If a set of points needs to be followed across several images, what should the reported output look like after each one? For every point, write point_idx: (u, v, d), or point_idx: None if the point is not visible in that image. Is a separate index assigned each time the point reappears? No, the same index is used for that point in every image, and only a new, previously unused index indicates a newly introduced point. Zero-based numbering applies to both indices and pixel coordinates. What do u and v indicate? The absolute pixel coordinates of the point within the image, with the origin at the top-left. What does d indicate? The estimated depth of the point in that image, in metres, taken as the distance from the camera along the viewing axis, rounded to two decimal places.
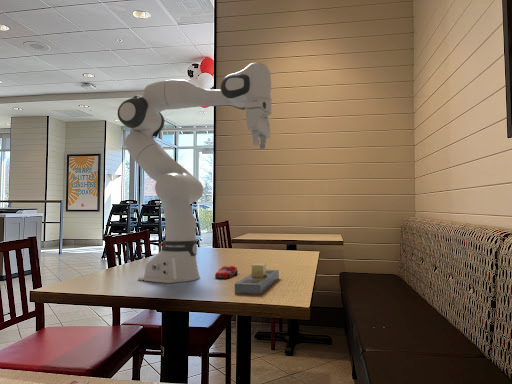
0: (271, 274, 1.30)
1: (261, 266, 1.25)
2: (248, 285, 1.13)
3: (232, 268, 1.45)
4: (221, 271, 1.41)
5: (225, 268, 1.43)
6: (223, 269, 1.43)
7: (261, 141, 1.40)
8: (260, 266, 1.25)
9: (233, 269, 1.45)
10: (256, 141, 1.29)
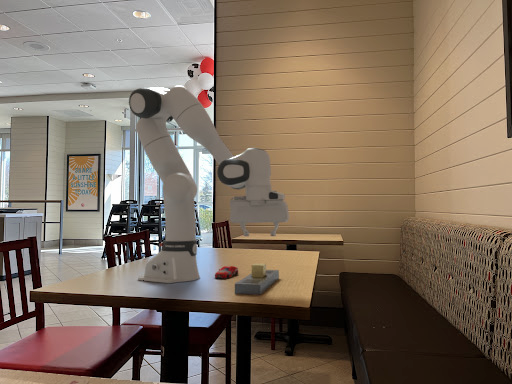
0: (271, 274, 1.30)
1: (261, 266, 1.25)
2: (248, 285, 1.13)
3: (232, 268, 1.45)
4: (221, 271, 1.41)
5: (225, 268, 1.43)
6: (223, 269, 1.43)
7: (243, 227, 1.29)
8: (260, 266, 1.25)
9: (233, 269, 1.45)
10: (275, 232, 1.26)
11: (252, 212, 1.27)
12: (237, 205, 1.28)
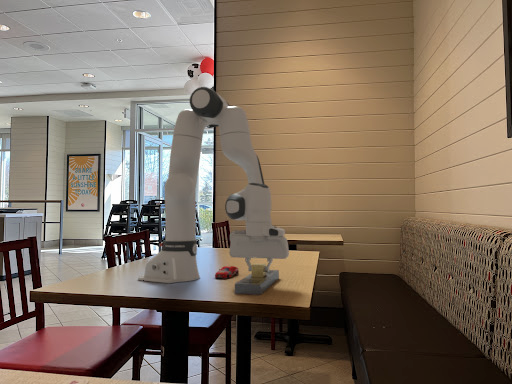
0: (271, 274, 1.30)
1: (261, 266, 1.25)
2: (248, 285, 1.13)
3: (232, 268, 1.45)
4: (221, 271, 1.41)
5: (225, 268, 1.43)
6: (223, 269, 1.43)
7: (248, 261, 1.27)
8: (260, 266, 1.25)
9: (234, 269, 1.45)
10: (268, 268, 1.26)
11: (251, 247, 1.26)
12: (237, 240, 1.27)
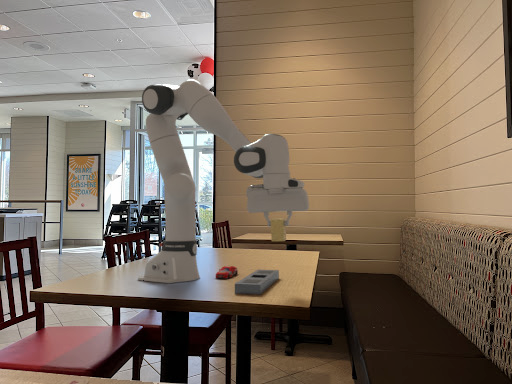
0: (271, 274, 1.30)
1: (281, 220, 1.19)
2: (248, 285, 1.13)
3: (232, 268, 1.45)
4: (221, 271, 1.41)
5: (225, 268, 1.43)
6: (223, 269, 1.42)
7: (267, 216, 1.22)
8: (280, 220, 1.20)
9: (233, 269, 1.45)
10: (288, 222, 1.21)
11: (270, 201, 1.21)
12: (254, 194, 1.22)
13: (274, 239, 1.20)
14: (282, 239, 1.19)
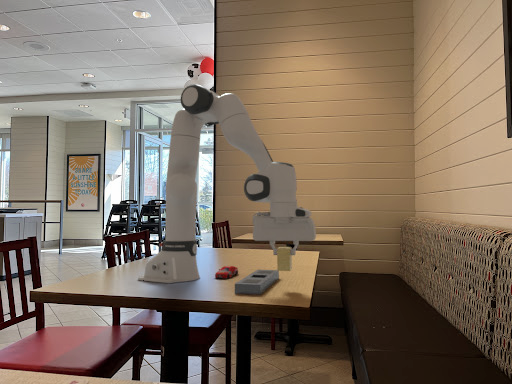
0: (271, 274, 1.30)
1: (287, 249, 1.18)
2: (248, 285, 1.13)
3: (232, 268, 1.45)
4: (221, 271, 1.41)
5: (225, 268, 1.43)
6: (223, 269, 1.42)
7: (273, 245, 1.21)
8: (286, 249, 1.18)
9: (233, 269, 1.45)
10: None
11: (276, 230, 1.19)
12: (261, 222, 1.21)
13: (280, 268, 1.18)
14: (288, 269, 1.18)
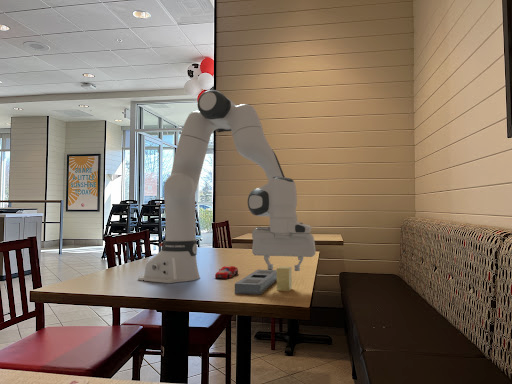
0: (271, 274, 1.30)
1: (287, 269, 1.18)
2: (248, 285, 1.13)
3: (232, 268, 1.44)
4: (221, 271, 1.41)
5: (225, 268, 1.43)
6: (223, 269, 1.42)
7: (267, 260, 1.21)
8: (286, 269, 1.18)
9: (233, 269, 1.45)
10: (299, 267, 1.19)
11: (276, 245, 1.19)
12: (260, 237, 1.20)
13: (280, 288, 1.18)
14: (287, 289, 1.17)
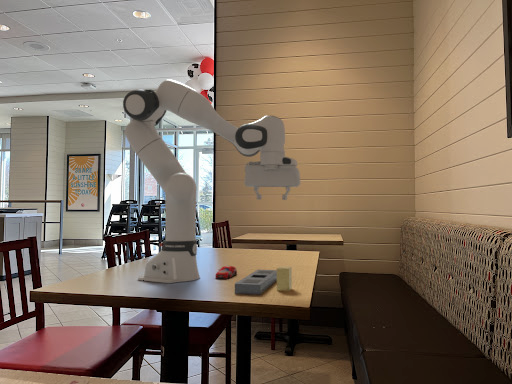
0: (271, 274, 1.30)
1: (287, 269, 1.18)
2: (248, 285, 1.13)
3: (232, 268, 1.45)
4: (221, 271, 1.41)
5: (225, 268, 1.43)
6: (223, 269, 1.42)
7: (256, 190, 1.36)
8: (286, 269, 1.18)
9: (233, 269, 1.45)
10: (286, 196, 1.34)
11: (265, 176, 1.34)
12: (252, 169, 1.35)
13: (280, 288, 1.18)
14: (287, 289, 1.17)
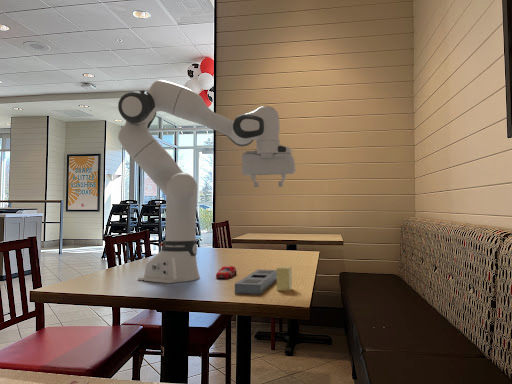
0: (271, 274, 1.30)
1: (287, 269, 1.18)
2: (248, 285, 1.13)
3: (232, 268, 1.45)
4: (222, 271, 1.41)
5: (225, 268, 1.43)
6: (223, 269, 1.42)
7: (253, 178, 1.42)
8: (286, 269, 1.18)
9: (233, 269, 1.45)
10: (282, 183, 1.40)
11: (262, 165, 1.40)
12: (248, 158, 1.41)
13: (280, 288, 1.18)
14: (287, 289, 1.17)
